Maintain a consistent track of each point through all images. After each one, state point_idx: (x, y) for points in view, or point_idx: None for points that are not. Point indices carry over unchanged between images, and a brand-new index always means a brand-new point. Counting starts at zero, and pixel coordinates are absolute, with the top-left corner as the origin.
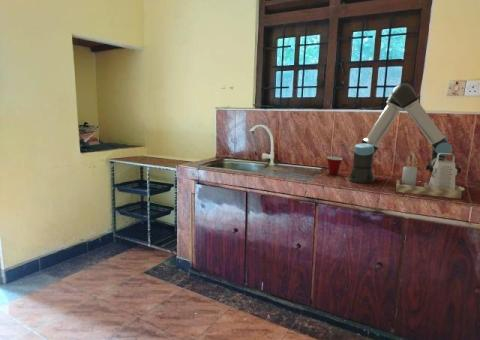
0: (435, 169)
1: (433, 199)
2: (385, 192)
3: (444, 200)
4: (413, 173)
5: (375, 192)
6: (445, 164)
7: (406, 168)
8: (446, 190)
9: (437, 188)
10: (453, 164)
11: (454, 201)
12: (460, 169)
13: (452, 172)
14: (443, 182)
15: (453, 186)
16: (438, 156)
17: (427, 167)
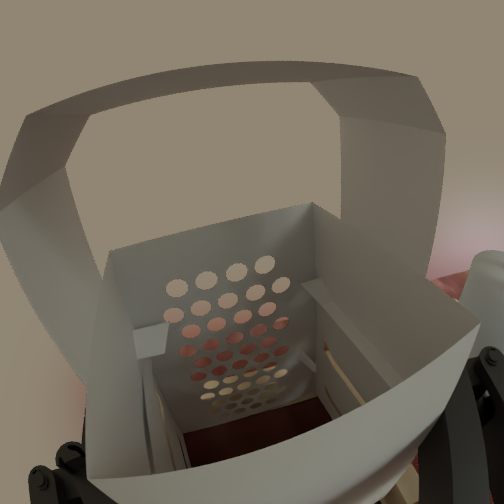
0: None
1: (276, 327)
2: (448, 294)
3: (233, 340)
4: (460, 296)
5: (457, 274)
6: (233, 245)
7: (496, 253)
8: (228, 380)
9: (281, 371)
10: (135, 264)
11: (193, 350)
12: (48, 472)
13: (166, 342)
14: (251, 381)
15: (183, 413)
16: (351, 138)
17: (472, 363)
